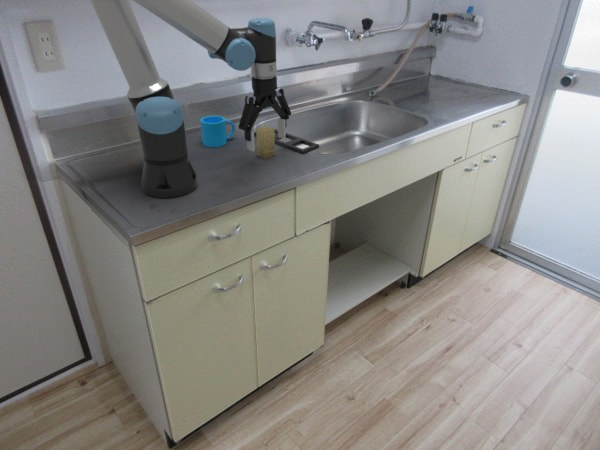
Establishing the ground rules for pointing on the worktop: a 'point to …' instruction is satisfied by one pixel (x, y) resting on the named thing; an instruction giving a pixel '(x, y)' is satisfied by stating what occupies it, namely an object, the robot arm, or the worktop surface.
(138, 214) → the worktop surface
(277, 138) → the dark slotted tray
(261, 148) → the nut block
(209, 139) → the mug
